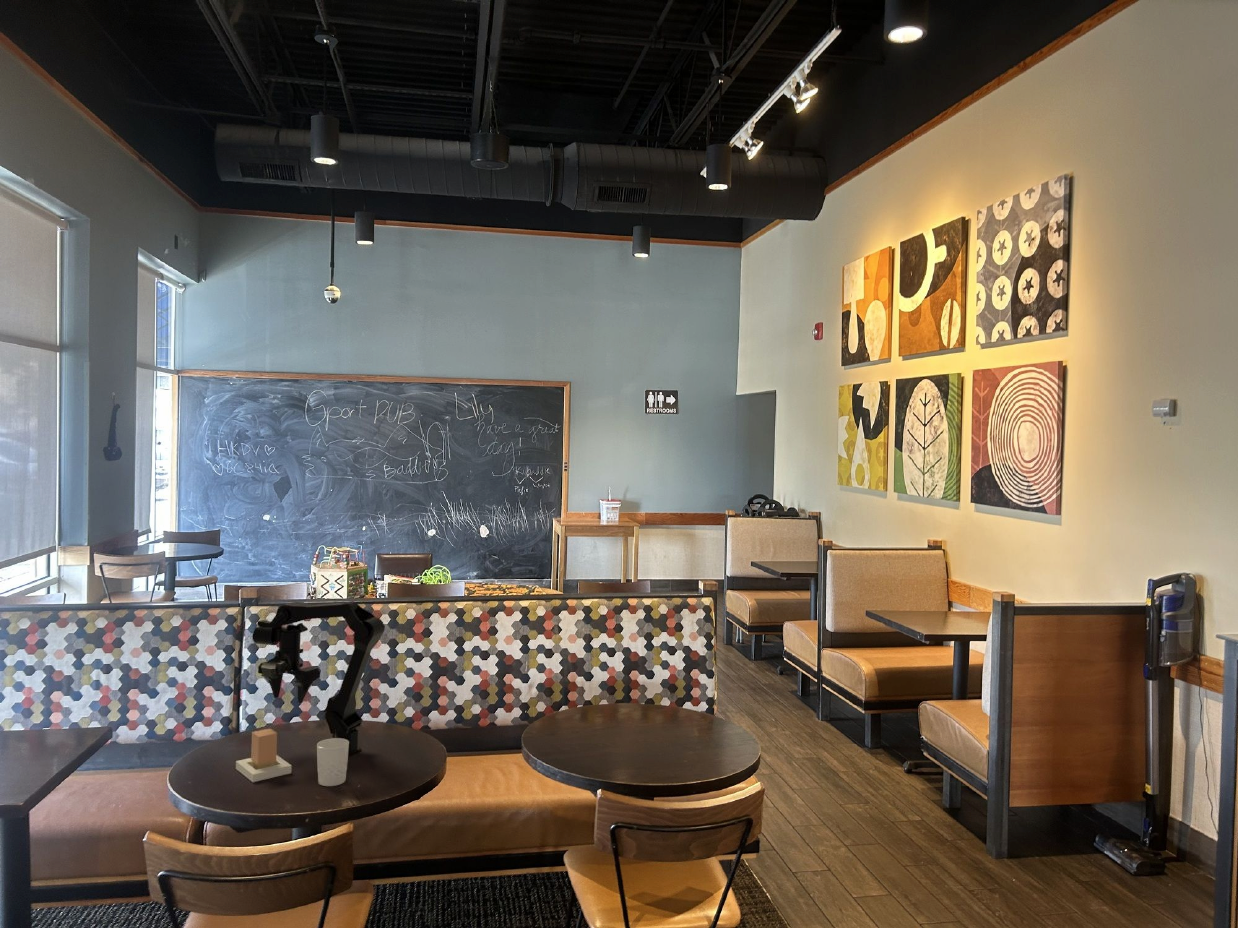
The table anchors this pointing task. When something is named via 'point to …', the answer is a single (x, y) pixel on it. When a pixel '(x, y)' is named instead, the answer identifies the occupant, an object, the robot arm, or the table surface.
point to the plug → (264, 748)
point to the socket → (263, 769)
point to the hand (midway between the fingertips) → (288, 700)
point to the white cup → (332, 761)
